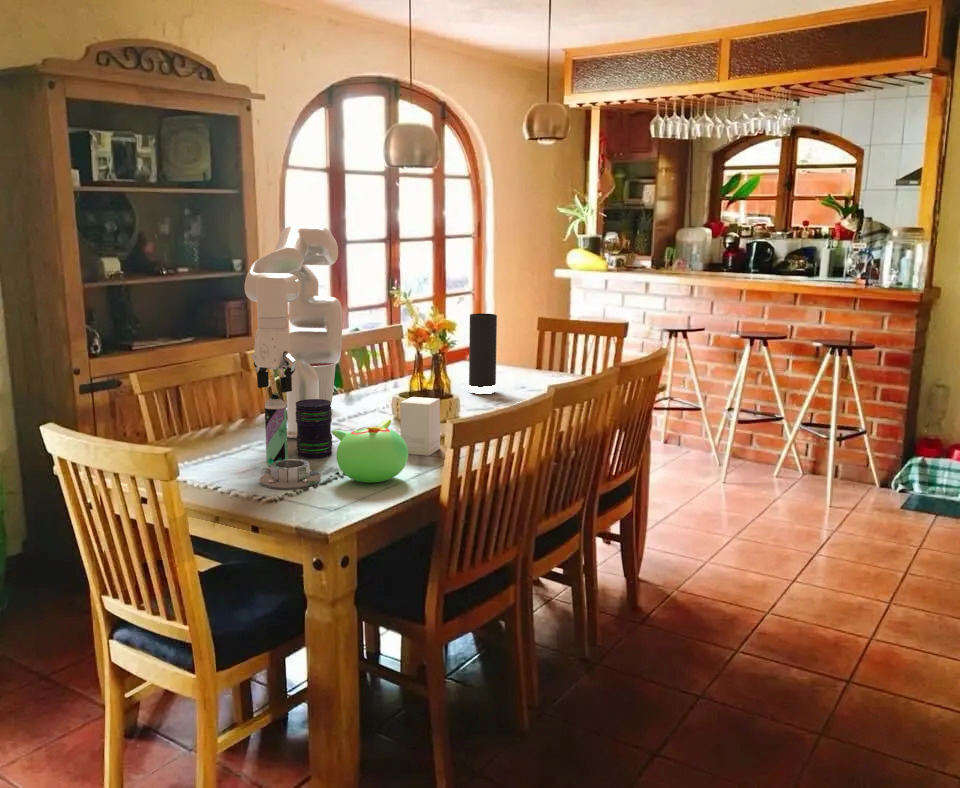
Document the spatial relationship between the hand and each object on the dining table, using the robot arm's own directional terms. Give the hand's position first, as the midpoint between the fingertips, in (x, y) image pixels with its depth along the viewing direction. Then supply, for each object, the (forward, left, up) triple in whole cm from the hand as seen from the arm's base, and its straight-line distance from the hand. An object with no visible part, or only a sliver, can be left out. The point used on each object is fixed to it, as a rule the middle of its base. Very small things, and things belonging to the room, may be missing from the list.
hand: (274, 389), depth 228 cm
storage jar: (-15, -3, -21) cm, 26 cm away
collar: (+5, +12, -21) cm, 25 cm away
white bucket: (-53, -51, -21) cm, 77 cm away
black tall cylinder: (-117, -28, -21) cm, 122 cm away
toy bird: (-9, +27, -21) cm, 36 cm away
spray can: (0, 0, -21) cm, 21 cm away
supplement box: (-38, +16, -21) cm, 47 cm away
